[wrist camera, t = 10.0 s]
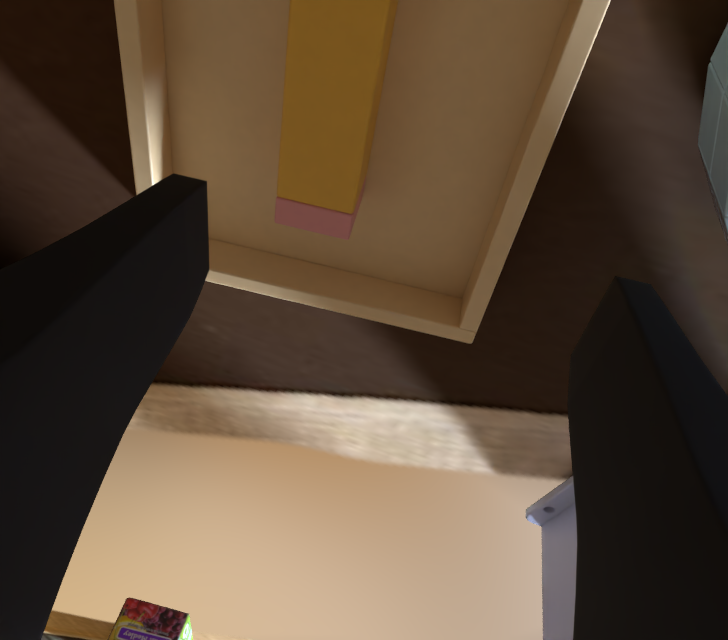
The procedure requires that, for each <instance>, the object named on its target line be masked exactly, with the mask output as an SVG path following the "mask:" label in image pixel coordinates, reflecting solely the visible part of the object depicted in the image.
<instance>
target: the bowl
mask: <svg viewBox="0 0 728 640" xmlns="http://www.w3.org/2000/svg"><path fill="white" fill-rule="evenodd" d="M698 147H699V151H700V155H701V159H702V162H703V166H704V170H705V174H706V177H707V181H708V185H709V188H710V192H711V196H712V200H713V203H714V207H715V210H716V213H717V215H718V218H719V221H720V224H721V227H722V230H723V233H724V236H725V239H726V241H727V244H728V24H727V26H726V28H725V30H724V32H723V34H722V36H721V38H720V40H719V42H718V44H717V46H716V49H715V51H714V53H713V55H712V57H711V60H710V63H709V65H708V72H707V79H706V86H705V93H704V101H703V108H702V115H701V122H700V130H699V137H698Z"/></svg>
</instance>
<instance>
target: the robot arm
mask: <svg viewBox="0 0 728 640" xmlns="http://www.w3.org/2000/svg"><path fill="white" fill-rule="evenodd" d="M208 272H209V234H208V197H207V181H205V180H200V179H196V178H192V177H187V176H183V175H179V174H175V173H173V174H171V175H169V176H168V177H166V178H164V179H162V180H161V181H159V182H157V183H156V184H154V185H152V186H151V187H149V188H148V189H146V190H144V191H143V192H141V193H139V194H138V195H136V196H135V197H133V198H131V199H130V200H128V201H127V202H125V203H123V204H122V205H120V206H118V207H117V208H115V209H113V210H112V211H110V212H108V213H107V214H105V215H103V216H102V217H100V218H98V219H96V220H95V221H93V222H91V223H90V224H88V225H86V226H85V227H83V228H81V229H79V230H77V231H75V232H74V233H72V234H70V235H68V236H66V237H64V238H62V239H60V240H58V241H57V242H55V243H53V244H51V245H49V246H47V247H45V248H43V249H41V250H40V251H38V252H36V253H34V254H32V255H30V256H28V257H26V258H24V259H22V260H20V261H17V262H15V263H13V264H11V265H9V266H6V267H4V268H2V269H0V640H41V638H42V635H43V632H44V629H45V627H46V624H47V621H48V618H49V616H50V613H51V610H52V607H53V604H54V602H55V599H56V596H57V593H58V591H59V588H60V585H61V582H62V580H63V577H64V575H65V572H66V570H67V567H68V565H69V562H70V559H71V557H72V554H73V552H74V549H75V547H76V544H77V542H78V539H79V537H80V534H81V531H82V529H83V526H84V524H85V522H86V519H87V517H88V514H89V512H90V510H91V507H92V505H93V503H94V500H95V498H96V495H97V493H98V491H99V488H100V486H101V484H102V481H103V479H104V476H105V474H106V472H107V470H108V467H109V465H110V463H111V461H112V458H113V456H114V454H115V452H116V450H117V447H118V445H119V442H120V441H121V438H122V436H123V434H124V432H125V430H126V428H127V426H128V424H129V422H130V420H131V418H132V416H133V414H134V413H135V411H136V409H137V407H138V406H139V404H140V402H141V400H142V399H143V397H144V395H145V394H146V392H147V390H148V388H149V387H150V385H151V383H152V382H153V380H154V378H155V376H156V375H157V373H158V371H159V370H160V368H161V366H162V365H163V363H164V361H165V359H166V358H167V356H168V354H169V353H170V351H171V349H172V347H173V346H174V344H175V342H176V340H177V339H178V337H179V335H180V334H181V332H182V330H183V328H184V327H185V325H186V323H187V321H188V319H189V318H190V316H191V314H192V311H193V309H194V307H195V304H196V302H197V300H198V297H199V295H200V292H201V290H202V287H203V285H204V282H205V280H206V277H207V275H208ZM568 419H569V433H570V446H571V459H572V471H573V476H572V477H570V478H569V479H567V480H566V481H565V482H563V483H562V484H560V485H559V486H558V487H556V488H555V489H553V490H552V491H551V492H549V493H548V494H547V495H545V496H544V497H543V498H541V499H540V500H538V501H537V502H536V503H534V504H533V505H531V506H530V507H529V508H527V509H526V518H527V520H528V521H530V522H532V523H534V524H537V525H539V526H541V527H542V594H543V595H542V597H543V598H542V599H543V640H728V396H727V394H726V393H725V392H724V390H723V389H722V388H721V386H720V385H719V384H718V382H717V381H716V379H715V378H714V377H713V375H712V374H711V372H710V371H709V370H708V368H707V367H706V365H705V364H704V362H703V361H702V360H701V358H700V357H699V355H698V354H697V352H696V351H695V349H694V348H693V346H692V345H691V343H690V342H689V340H688V339H687V337H686V336H685V334H684V333H683V331H682V330H681V328H680V327H679V325H678V324H677V322H676V321H675V319H674V318H673V316H672V315H671V313H670V312H669V310H668V309H667V307H666V306H665V304H664V303H663V301H662V300H661V298H660V297H659V295H658V294H657V292H656V291H655V290H654V288H653V287H652V286H651V284H648V283H643V282H639V281H635V280H630V279H626V278H622V277H617V276H615V277H614V279H613V281H612V283H611V284H610V286H609V288H608V290H607V291H606V293H605V295H604V297H603V299H602V300H601V302H600V304H599V306H598V307H597V309H596V311H595V313H594V315H593V316H592V318H591V320H590V322H589V323H588V325H587V327H586V329H585V331H584V332H583V334H582V336H581V338H580V339H579V341H578V343H577V345H576V347H575V348H574V350H573V352H572V354H571V360H570V373H569V387H568Z"/></svg>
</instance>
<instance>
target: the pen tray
mask: <svg viewBox="0 0 728 640" xmlns="http://www.w3.org/2000/svg"><path fill="white" fill-rule="evenodd" d="M610 1H611V0H398V5H397V10H396V15H395V21H394V26H393V32H392V37H391V43H390V48H389V54H388V59H387V65H386V70H385V76H384V81H383V87H382V92H381V98H380V103H379V109H378V114H377V120H376V125H375V131H374V136H373V142H372V147H371V153H370V158H369V164H368V169H367V174H366V181H365V186H364V192H363V197H362V200H361V204H360V207H359V210H358V213H357V216H356V219H355V222H354V225H353V228H352V232H351V235H350V238H349V239H348V240H345V239H341V238H336V237H332V236H328V235H324V234H319V233H315V232H311V231H307V230H303V229H298V228H294V227H290V226H286V225H281V224H277V223H275V221H274V218H275V204H276V197H277V179H278V164H279V150H280V135H281V121H282V106H283V92H284V77H285V63H286V48H287V34H288V19H289V5H290V0H114V6H115V14H116V23H117V32H118V40H119V49H120V58H121V67H122V75H123V84H124V93H125V101H126V110H127V119H128V128H129V136H130V145H131V154H132V162H133V171H134V180H135V189H136V195H138V194H139V193H141V192H143V191H144V190H146V189H148V188H149V187H151V186H152V185H154V184H156V183H157V182H159V181H161V180H162V179H164V178H166V177H168V176H169V175H171V174H173V173H175V174H179V175H183V176H187V177H192V178H196V179H200V180H205V181H207V197H208V234H209V272H208V275H207V277H206V280H205V281H210V282H214V283H218V284H222V285H226V286H231V287H235V288H239V289H243V290H247V291H251V292H256V293H260V294H264V295H268V296H272V297H277V298H281V299H285V300H289V301H293V302H298V303H302V304H306V305H310V306H314V307H318V308H323V309H327V310H331V311H335V312H339V313H344V314H348V315H352V316H356V317H360V318H364V319H369V320H373V321H377V322H381V323H385V324H390V325H394V326H398V327H402V328H406V329H411V330H415V331H419V332H423V333H427V334H431V335H436V336H440V337H444V338H448V339H452V340H457V341H461V342H465V343H469V344H471V343H472V342H473V340H474V337H475V335H476V332H477V330H478V328H479V325H480V323H481V320H482V318H483V315H484V313H485V310H486V308H487V305H488V303H489V301H490V298H491V296H492V293H493V291H494V288H495V286H496V283H497V281H498V278H499V276H500V273H501V271H502V268H503V266H504V263H505V261H506V258H507V256H508V253H509V251H510V248H511V246H512V244H513V241H514V239H515V236H516V234H517V231H518V229H519V226H520V224H521V221H522V219H523V216H524V214H525V211H526V209H527V206H528V204H529V201H530V199H531V196H532V194H533V192H534V189H535V187H536V184H537V182H538V179H539V177H540V174H541V172H542V169H543V167H544V164H545V162H546V159H547V157H548V154H549V152H550V149H551V147H552V144H553V142H554V139H555V137H556V135H557V132H558V130H559V127H560V125H561V122H562V120H563V117H564V115H565V112H566V110H567V107H568V105H569V102H570V100H571V97H572V95H573V92H574V90H575V87H576V85H577V82H578V80H579V78H580V75H581V73H582V70H583V68H584V65H585V63H586V60H587V58H588V55H589V53H590V50H591V48H592V45H593V43H594V40H595V38H596V35H597V33H598V30H599V28H600V26H601V23H602V21H603V18H604V16H605V13H606V11H607V8H608V6H609V3H610Z"/></svg>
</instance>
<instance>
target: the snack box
mask: <svg viewBox="0 0 728 640" xmlns="http://www.w3.org/2000/svg"><path fill="white" fill-rule="evenodd" d="M108 640H193V637H192V630H191V624H190V616H189V614H188V613H184V612H180V611H177V610H174V609H170V608H167V607H162V606H159V605H155V604H152V603H149V602H145V601H141V600H137V599H133V598H127V599H126V601H125V603H124V605H123V607H122V610H121V612H120V614H119V617H118V618H117V620H116V623H115V625H114V627H113V629H112V631H111V633H110V635H109V638H108Z"/></svg>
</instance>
